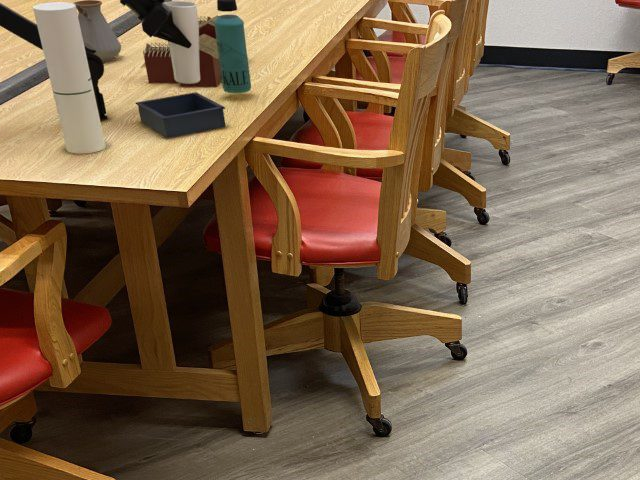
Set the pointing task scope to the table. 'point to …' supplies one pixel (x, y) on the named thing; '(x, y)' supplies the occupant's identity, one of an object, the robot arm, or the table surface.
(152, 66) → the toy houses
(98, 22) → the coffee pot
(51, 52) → the cylindrical container
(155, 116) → the dark blue square tray
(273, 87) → the table surface
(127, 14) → the table surface
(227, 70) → the beverage bottle
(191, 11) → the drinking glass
